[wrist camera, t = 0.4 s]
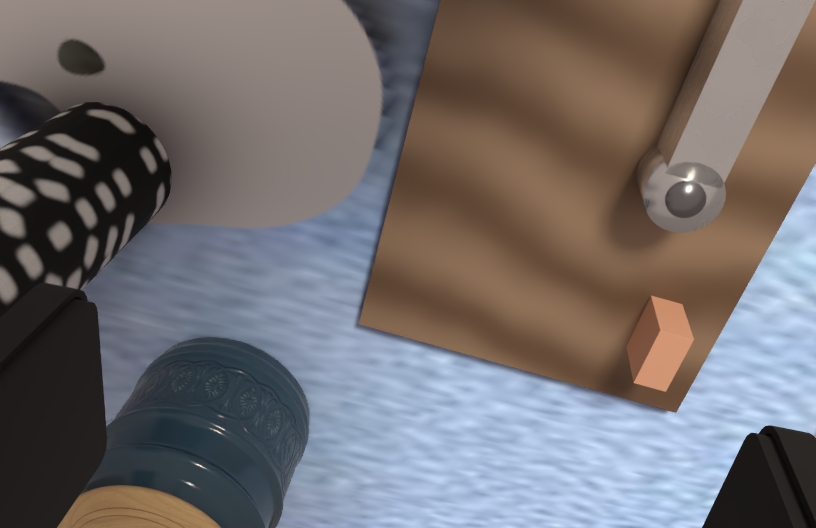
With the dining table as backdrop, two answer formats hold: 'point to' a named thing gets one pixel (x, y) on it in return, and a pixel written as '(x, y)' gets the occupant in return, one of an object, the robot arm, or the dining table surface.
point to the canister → (200, 443)
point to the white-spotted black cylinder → (75, 196)
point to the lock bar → (717, 110)
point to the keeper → (659, 343)
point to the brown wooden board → (572, 189)
